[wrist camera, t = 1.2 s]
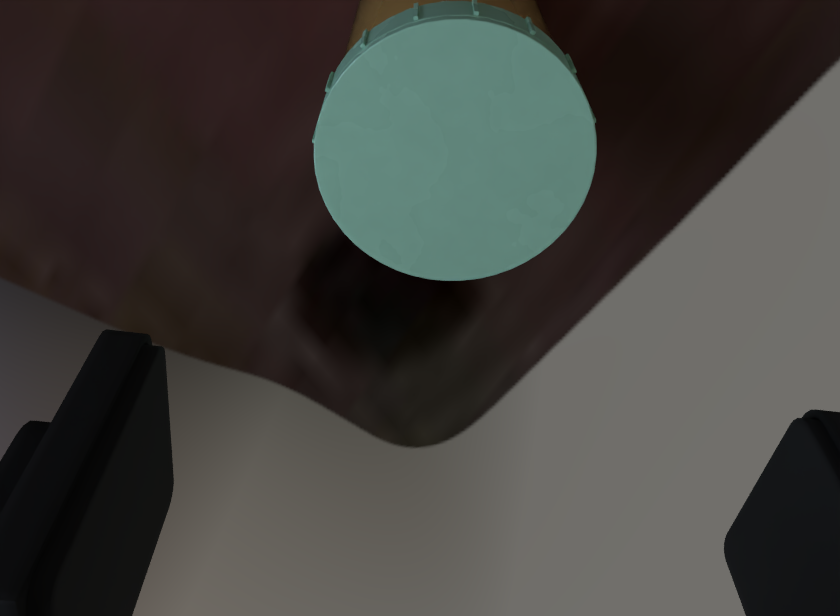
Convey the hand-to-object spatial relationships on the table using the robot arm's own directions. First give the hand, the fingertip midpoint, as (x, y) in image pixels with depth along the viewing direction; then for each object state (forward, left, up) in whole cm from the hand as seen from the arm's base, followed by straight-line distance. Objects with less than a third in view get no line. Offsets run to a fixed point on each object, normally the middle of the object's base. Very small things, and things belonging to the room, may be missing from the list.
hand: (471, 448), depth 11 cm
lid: (0, 0, -10) cm, 10 cm away
